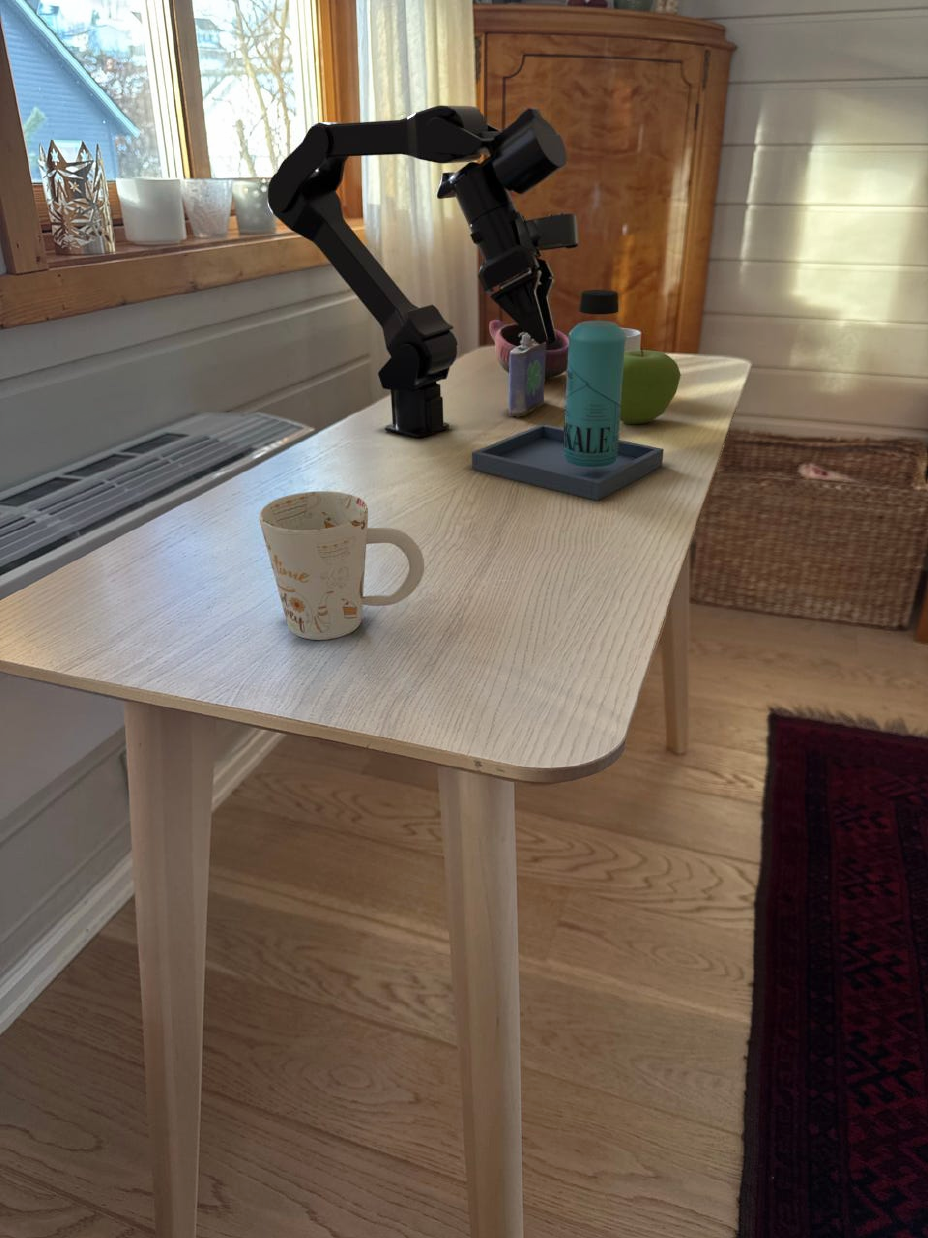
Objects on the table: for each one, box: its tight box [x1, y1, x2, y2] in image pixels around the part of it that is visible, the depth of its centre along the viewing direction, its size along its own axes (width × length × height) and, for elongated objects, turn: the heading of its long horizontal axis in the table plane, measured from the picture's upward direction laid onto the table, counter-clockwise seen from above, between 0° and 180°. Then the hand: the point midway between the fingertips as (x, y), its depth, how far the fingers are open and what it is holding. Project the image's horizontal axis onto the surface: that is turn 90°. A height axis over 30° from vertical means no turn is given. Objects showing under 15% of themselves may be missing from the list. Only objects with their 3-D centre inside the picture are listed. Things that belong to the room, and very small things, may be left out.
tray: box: [471, 423, 665, 502], centre depth 107 cm, size 18×15×2 cm
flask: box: [507, 332, 546, 418], centre depth 128 cm, size 9×3×11 cm, turn 151°
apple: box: [620, 347, 682, 425], centre depth 122 cm, size 11×10×10 cm
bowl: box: [488, 319, 569, 380], centre depth 145 cm, size 16×13×8 cm
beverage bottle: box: [563, 289, 626, 467], centre depth 99 cm, size 6×7×20 cm
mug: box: [258, 490, 425, 641], centre depth 72 cm, size 8×13×10 cm, turn 95°
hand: (548, 342), depth 106 cm, fingers open, 9 cm apart
